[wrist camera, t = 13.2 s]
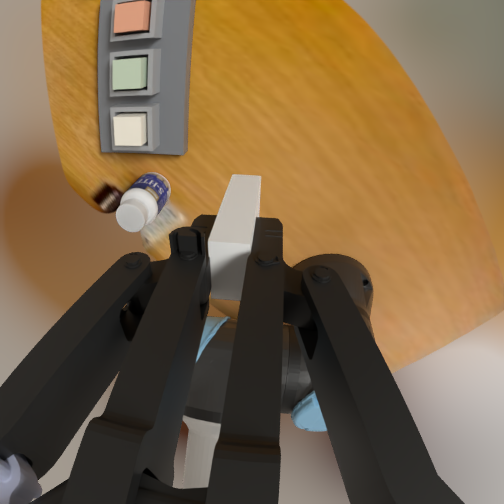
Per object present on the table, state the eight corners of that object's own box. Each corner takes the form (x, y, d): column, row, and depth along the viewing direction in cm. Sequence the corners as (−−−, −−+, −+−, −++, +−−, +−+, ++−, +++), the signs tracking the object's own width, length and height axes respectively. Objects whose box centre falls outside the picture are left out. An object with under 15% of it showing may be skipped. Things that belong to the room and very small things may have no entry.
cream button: (150, 138, 37) (141, 145, 34) (125, 138, 37) (114, 145, 34) (150, 111, 35) (140, 116, 32) (124, 111, 35) (113, 117, 32)
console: (187, 150, 40) (177, 161, 36) (108, 147, 40) (92, 158, 37) (196, -12, 27) (186, -19, 24) (108, -2, 27) (90, -5, 24)
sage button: (150, 85, 33) (140, 88, 30) (123, 86, 33) (112, 89, 30) (151, 56, 31) (141, 57, 28) (124, 58, 31) (112, 60, 28)
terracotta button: (152, 30, 29) (142, 29, 26) (125, 33, 29) (113, 32, 26) (154, 3, 26) (144, 0, 24) (126, 6, 26) (115, 4, 24)
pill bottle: (175, 178, 43) (153, 208, 35) (166, 209, 46) (145, 242, 38) (141, 166, 42) (113, 193, 35) (134, 197, 45) (108, 228, 38)
